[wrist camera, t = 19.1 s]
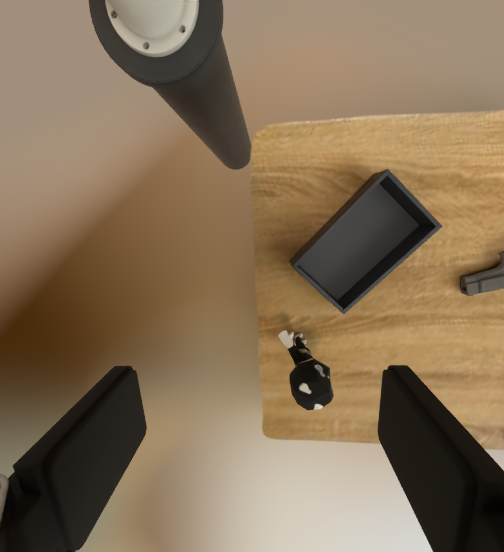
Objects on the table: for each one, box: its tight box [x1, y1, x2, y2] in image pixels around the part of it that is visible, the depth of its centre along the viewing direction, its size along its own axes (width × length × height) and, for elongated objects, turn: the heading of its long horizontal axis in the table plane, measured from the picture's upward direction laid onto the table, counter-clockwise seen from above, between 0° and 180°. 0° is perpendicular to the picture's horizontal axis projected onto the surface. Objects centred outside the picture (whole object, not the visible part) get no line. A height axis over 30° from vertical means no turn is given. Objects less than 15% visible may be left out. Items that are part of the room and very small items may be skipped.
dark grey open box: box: [290, 169, 442, 314], centre depth 38 cm, size 11×18×4 cm, turn 138°
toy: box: [278, 330, 334, 410], centre depth 38 cm, size 14×6×15 cm, turn 33°
